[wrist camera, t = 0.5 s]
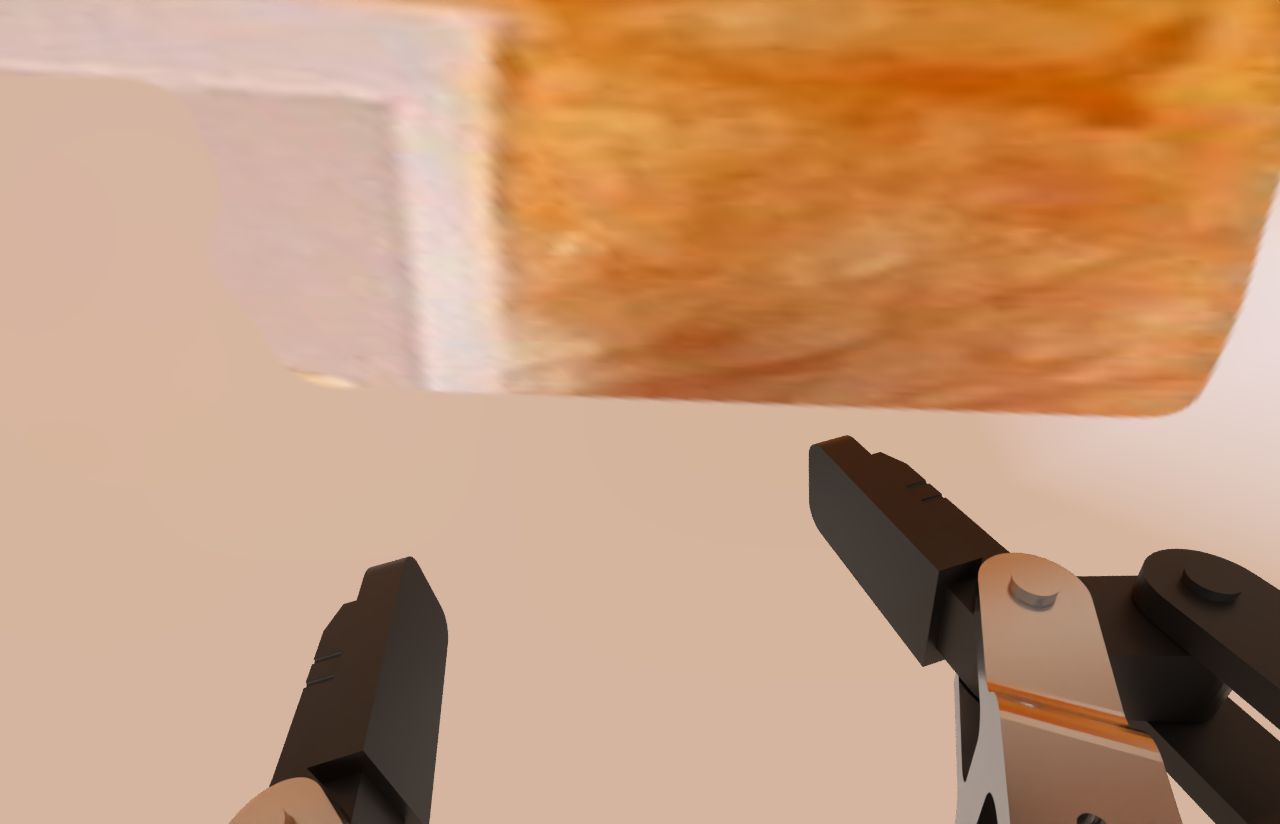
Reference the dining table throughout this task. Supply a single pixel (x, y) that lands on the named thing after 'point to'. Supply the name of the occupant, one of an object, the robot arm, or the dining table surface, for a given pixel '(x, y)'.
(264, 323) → the dining table surface
